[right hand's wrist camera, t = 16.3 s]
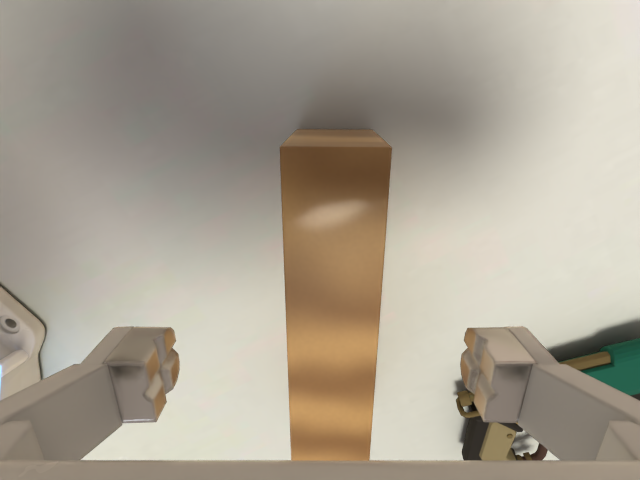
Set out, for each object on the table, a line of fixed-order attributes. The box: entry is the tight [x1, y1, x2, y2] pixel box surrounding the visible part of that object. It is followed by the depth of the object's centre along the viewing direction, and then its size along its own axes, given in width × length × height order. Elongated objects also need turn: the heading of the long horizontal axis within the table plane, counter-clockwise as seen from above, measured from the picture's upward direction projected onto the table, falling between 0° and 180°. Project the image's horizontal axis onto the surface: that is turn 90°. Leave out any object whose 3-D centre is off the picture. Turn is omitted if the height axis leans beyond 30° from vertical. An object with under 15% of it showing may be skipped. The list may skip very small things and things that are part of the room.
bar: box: [280, 129, 392, 461], centre depth 24 cm, size 24×5×8 cm, turn 0°
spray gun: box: [456, 338, 640, 461], centre depth 30 cm, size 4×17×15 cm
